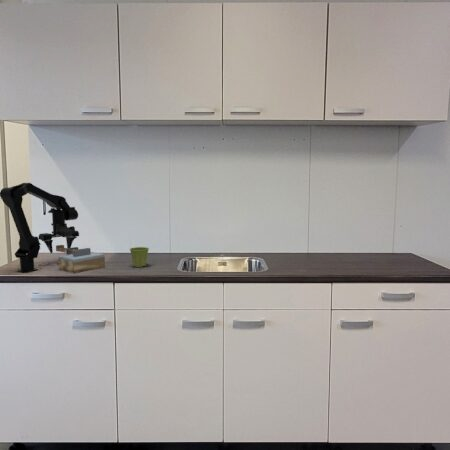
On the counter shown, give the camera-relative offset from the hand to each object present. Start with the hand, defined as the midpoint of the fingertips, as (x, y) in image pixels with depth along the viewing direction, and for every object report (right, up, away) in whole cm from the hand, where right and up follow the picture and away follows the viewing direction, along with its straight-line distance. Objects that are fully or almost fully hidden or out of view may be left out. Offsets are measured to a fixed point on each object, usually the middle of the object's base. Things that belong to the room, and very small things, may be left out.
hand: (60, 251), depth 187 cm
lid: (+16, -3, -11) cm, 20 cm away
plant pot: (+42, -7, -6) cm, 43 cm away
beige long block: (+4, 0, -3) cm, 4 cm away
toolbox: (+14, -7, -10) cm, 19 cm away
